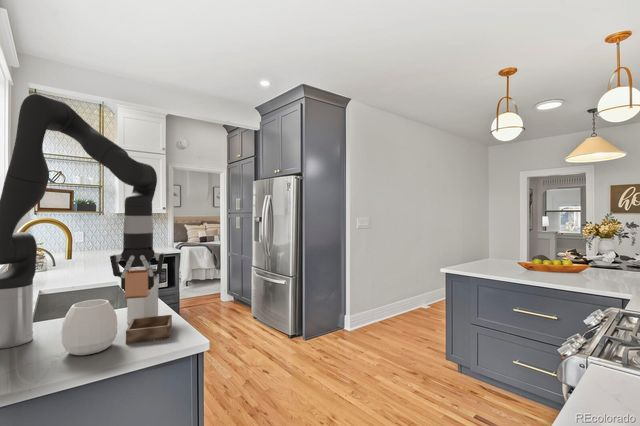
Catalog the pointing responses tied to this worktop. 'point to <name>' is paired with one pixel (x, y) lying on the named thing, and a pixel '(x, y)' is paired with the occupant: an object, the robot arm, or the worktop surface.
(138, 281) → the terracotta crate
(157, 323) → the walnut crate
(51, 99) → the robot arm
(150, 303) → the milk carton
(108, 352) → the worktop surface
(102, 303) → the white round vase
